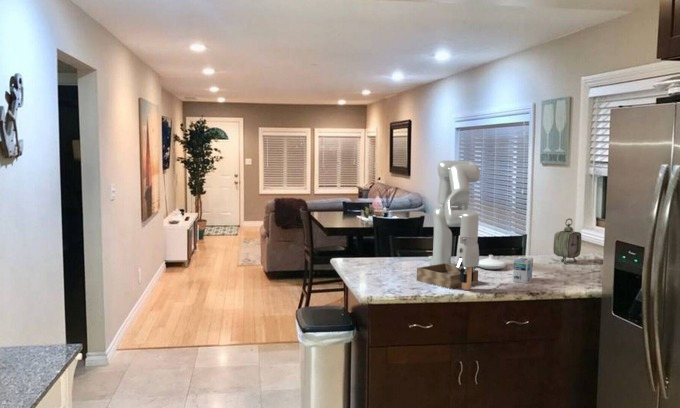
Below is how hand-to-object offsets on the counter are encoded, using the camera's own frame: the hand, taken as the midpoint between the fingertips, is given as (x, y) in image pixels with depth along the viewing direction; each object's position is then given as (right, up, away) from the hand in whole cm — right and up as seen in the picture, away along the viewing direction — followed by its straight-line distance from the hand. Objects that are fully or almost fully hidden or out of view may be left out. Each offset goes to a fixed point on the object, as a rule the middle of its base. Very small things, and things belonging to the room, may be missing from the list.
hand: (466, 281), depth 252 cm
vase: (+23, 0, +48) cm, 54 cm away
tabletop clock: (+71, +1, +69) cm, 99 cm away
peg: (0, -3, 0) cm, 3 cm away
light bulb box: (+32, -3, +22) cm, 38 cm away
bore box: (-6, -2, +15) cm, 16 cm away
